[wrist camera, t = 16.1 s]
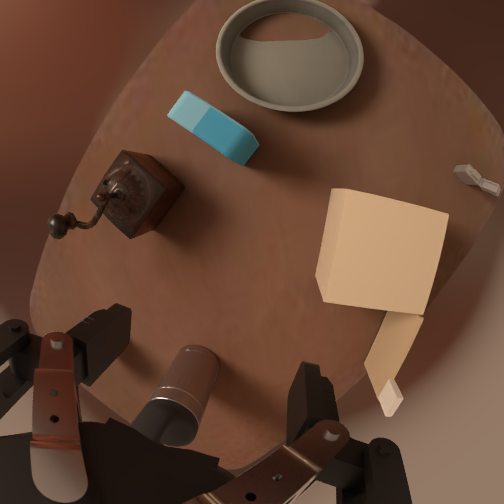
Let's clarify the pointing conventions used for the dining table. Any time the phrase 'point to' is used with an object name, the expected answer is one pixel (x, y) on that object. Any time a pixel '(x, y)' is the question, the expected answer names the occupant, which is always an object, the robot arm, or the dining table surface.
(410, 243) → the carton
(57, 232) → the pepper mill
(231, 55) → the cake pan
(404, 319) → the beige wooden slab
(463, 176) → the lighter
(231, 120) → the data package
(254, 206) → the dining table surface
